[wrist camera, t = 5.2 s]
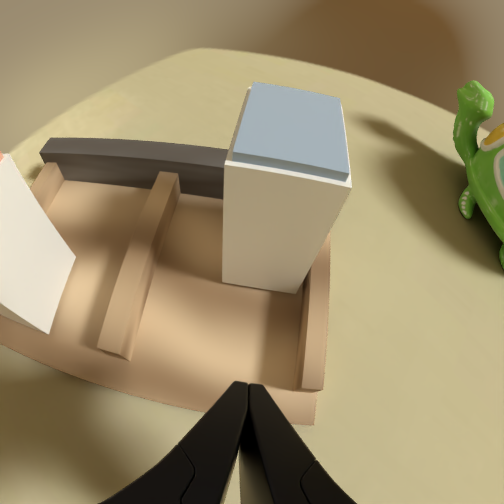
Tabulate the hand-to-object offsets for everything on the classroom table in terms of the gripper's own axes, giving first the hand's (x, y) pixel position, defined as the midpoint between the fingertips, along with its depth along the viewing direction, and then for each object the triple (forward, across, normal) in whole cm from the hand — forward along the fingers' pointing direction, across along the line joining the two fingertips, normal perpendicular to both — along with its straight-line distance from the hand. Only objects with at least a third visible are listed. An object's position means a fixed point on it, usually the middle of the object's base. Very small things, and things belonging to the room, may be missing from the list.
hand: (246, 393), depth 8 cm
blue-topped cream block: (+11, 0, -1) cm, 11 cm away
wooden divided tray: (+9, +6, +1) cm, 11 cm away
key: (+8, +13, +2) cm, 15 cm away
